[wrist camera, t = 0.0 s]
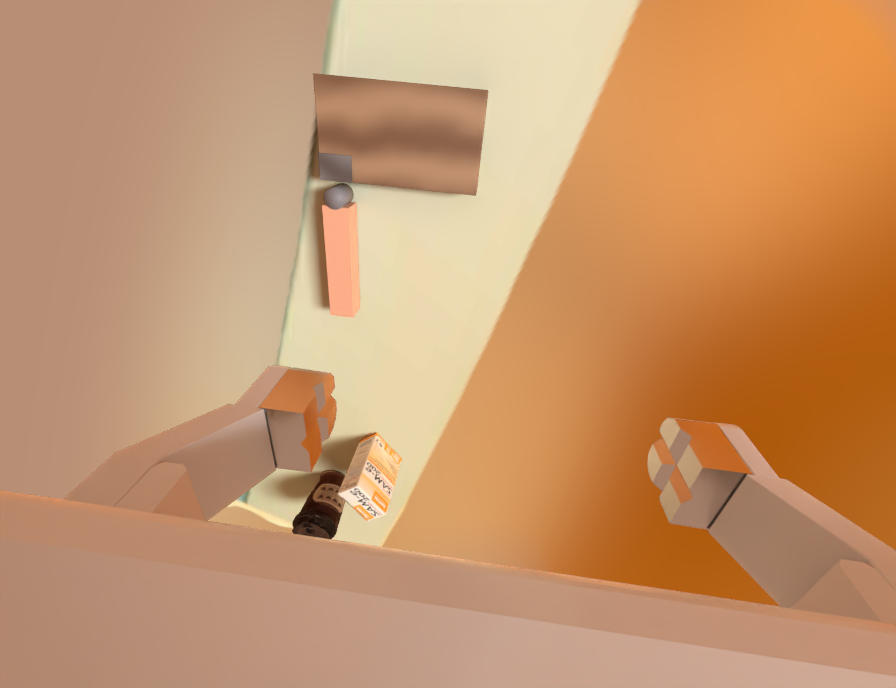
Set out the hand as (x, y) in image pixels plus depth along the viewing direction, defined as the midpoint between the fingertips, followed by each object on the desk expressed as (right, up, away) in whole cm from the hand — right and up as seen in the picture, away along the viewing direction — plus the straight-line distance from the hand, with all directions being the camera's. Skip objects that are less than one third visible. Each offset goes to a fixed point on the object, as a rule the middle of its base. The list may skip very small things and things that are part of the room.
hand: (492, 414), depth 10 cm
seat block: (-6, +28, +40) cm, 49 cm away
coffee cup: (-25, -27, +76) cm, 84 cm away
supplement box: (-14, -19, +69) cm, 73 cm away
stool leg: (-16, +16, +49) cm, 54 cm away
